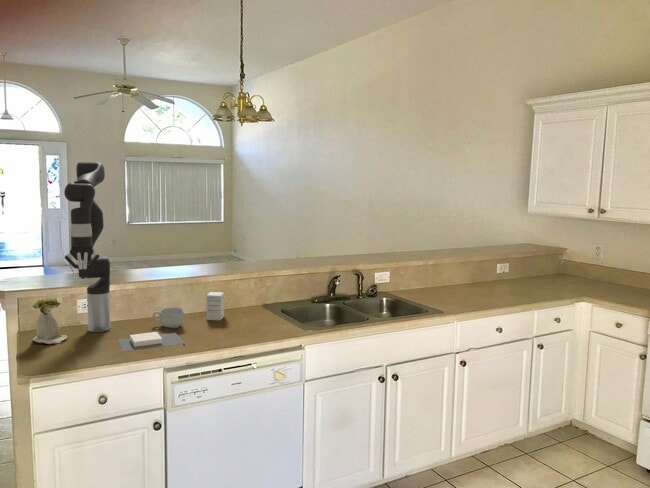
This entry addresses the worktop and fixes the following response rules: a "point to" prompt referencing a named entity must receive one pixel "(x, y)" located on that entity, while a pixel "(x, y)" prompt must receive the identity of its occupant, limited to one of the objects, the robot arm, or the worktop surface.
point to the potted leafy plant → (47, 322)
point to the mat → (166, 341)
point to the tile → (146, 339)
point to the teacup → (170, 317)
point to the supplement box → (215, 306)
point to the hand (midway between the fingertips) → (82, 278)
